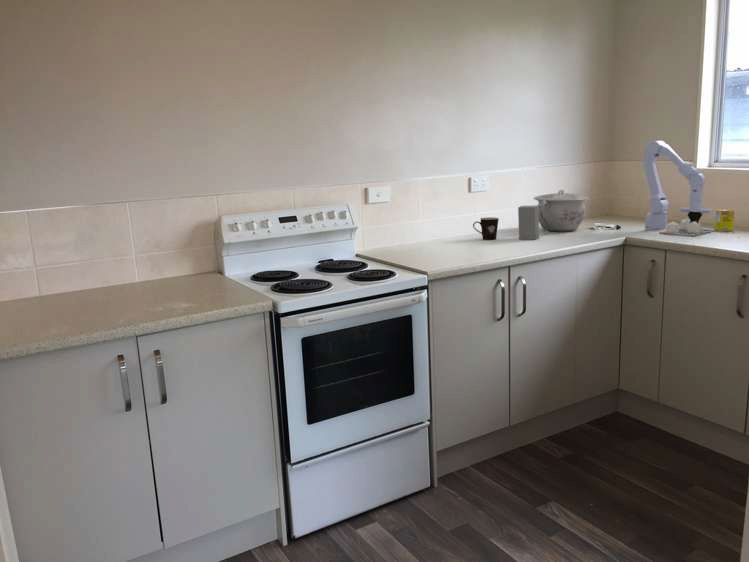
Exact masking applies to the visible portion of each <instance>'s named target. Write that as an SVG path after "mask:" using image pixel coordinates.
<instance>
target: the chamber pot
mask: <svg viewBox="0 0 749 562" xmlns="http://www.w3.org/2000/svg"><path fill="white" fill-rule="evenodd" d="M589 198H590V197H589V196H587V195H583V194H576V193H568V192H565V191H564V189H560V190H558V192H557V193H556V192H555V193H546V194H543V195H537V196H534V197H533V200H535V201H537V202H538V203H537V205H538V216H539V226H540V227H541V228H542V229H544V230H546V231H549V232H557V233H558V232H561V233H562V232H566V233H567V232H572V231H574V230H577V229H579V227H580V226H581V224H582V223H583V221H584V220H585V216H586V212H587V211H586V205H585V203H584V202H585V201H586V200H589Z"/></svg>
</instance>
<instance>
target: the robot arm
mask: <svg viewBox="0 0 749 562" xmlns="http://www.w3.org/2000/svg"><path fill="white" fill-rule="evenodd" d="M643 153H644V154H643V156H642V165H643V168H644V171H645V176H646V180H647V183H648V188H649V192H650V197H649V201H650V204H649V210H650V212H648V213H646V215H645V221H644V229H643V231H644V232H647V231H650V230H666V227H667V224H668V210H669V208H670V201H669V200H668V199H667V197H666V195H665V193H664V192H663V188H662V184H661V181H660V177H659V173H658V169H657V165H656V160H657V159H658V157H660V156H664V157H666V158H668V160H670V162H672V163H674V165H676V167H678V168H677V169H678V170H677V171H678V172H679V173H680V175H682V176H683V177H684V178H685V179H686V180H688V183H689V185H690V186H689V187H690V188H689V199H688V200H689V203H688V207H679V210H678V212H679V213H687V217H688V219H689V220H690V222H691V223H692V222H694V221H697V222H696V223H699V221H700V219H701V218H702V216H703V214H707V215H711V214H713V213H712V211H713V209H712V208H711V209H710V208H703V203H704V199H703V198H704V186H705V185H704V184H705V183H706V181H707V178H706V176H705V174H704V173H702V172H700V170H697V169H696V168H695V167H694V166H693V163H692V162H689V161H684V160H683V159H682V158H681V157H680V156H679V155H678V154H677V153H676V152H675V151H674V150H673V149H672V147H671V146H670V145H669V144H667V143H666V142H665V141H664V140H651V141H648V143H647V144H646V146H645V147H644V152H643Z"/></svg>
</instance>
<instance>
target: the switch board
mask: <svg viewBox="0 0 749 562" xmlns="http://www.w3.org/2000/svg"><path fill="white" fill-rule="evenodd" d="M717 231H718V230H715V229H710V228H701V227H700V233H695V232H687V230H685V229H680V227H679V233H671V232H666V230H664V231H661V232H658V234H659V235H667V236H668V235H670V236H680V237H689V238H694V237H698V236H702V235H707V234H711V233H714V232H717Z"/></svg>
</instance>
